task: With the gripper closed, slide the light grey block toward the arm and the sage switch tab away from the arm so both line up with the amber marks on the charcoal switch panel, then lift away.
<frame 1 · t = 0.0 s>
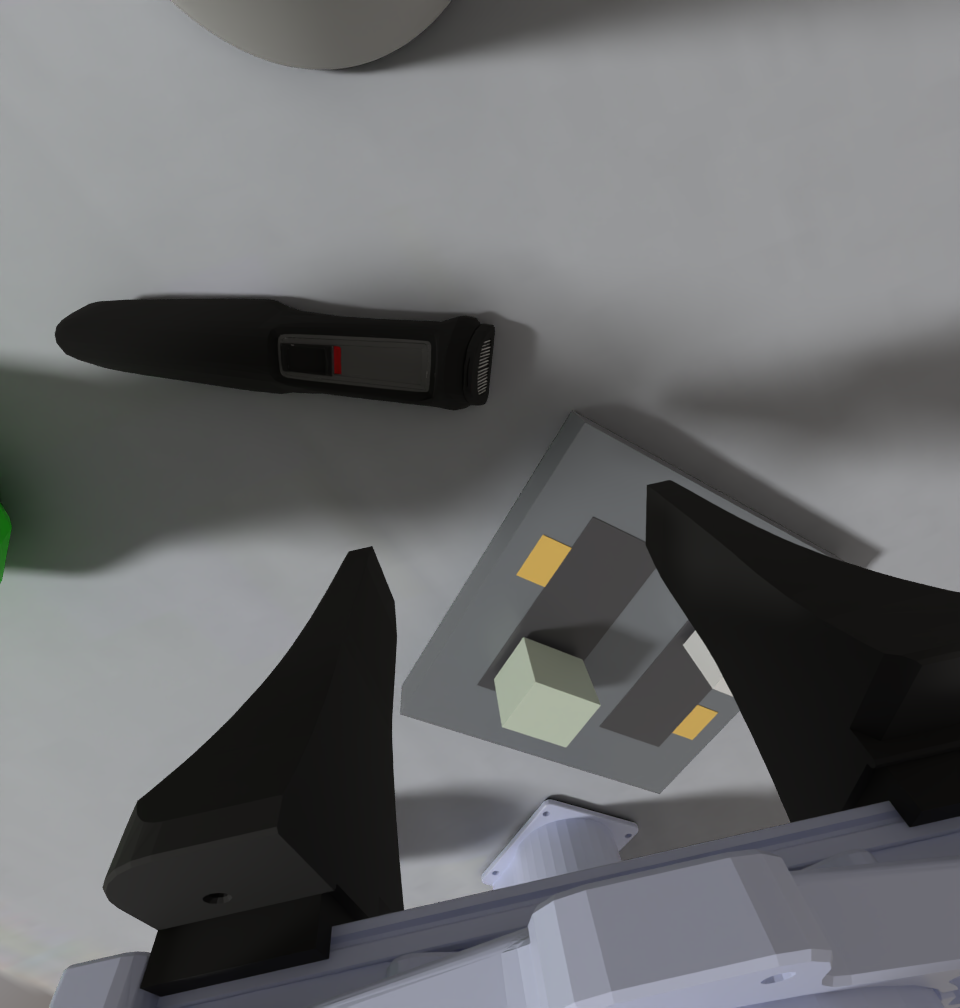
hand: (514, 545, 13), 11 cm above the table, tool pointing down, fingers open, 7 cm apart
light grey block: (742, 655, 25), point 4 cm above the table, slide at 6.0 cm
electric trimmer: (315, 351, 21), on the table
tab sage: (544, 691, 24), point 4 cm above the table, slide at 0.0 cm
switch panel: (616, 622, 28), on the table
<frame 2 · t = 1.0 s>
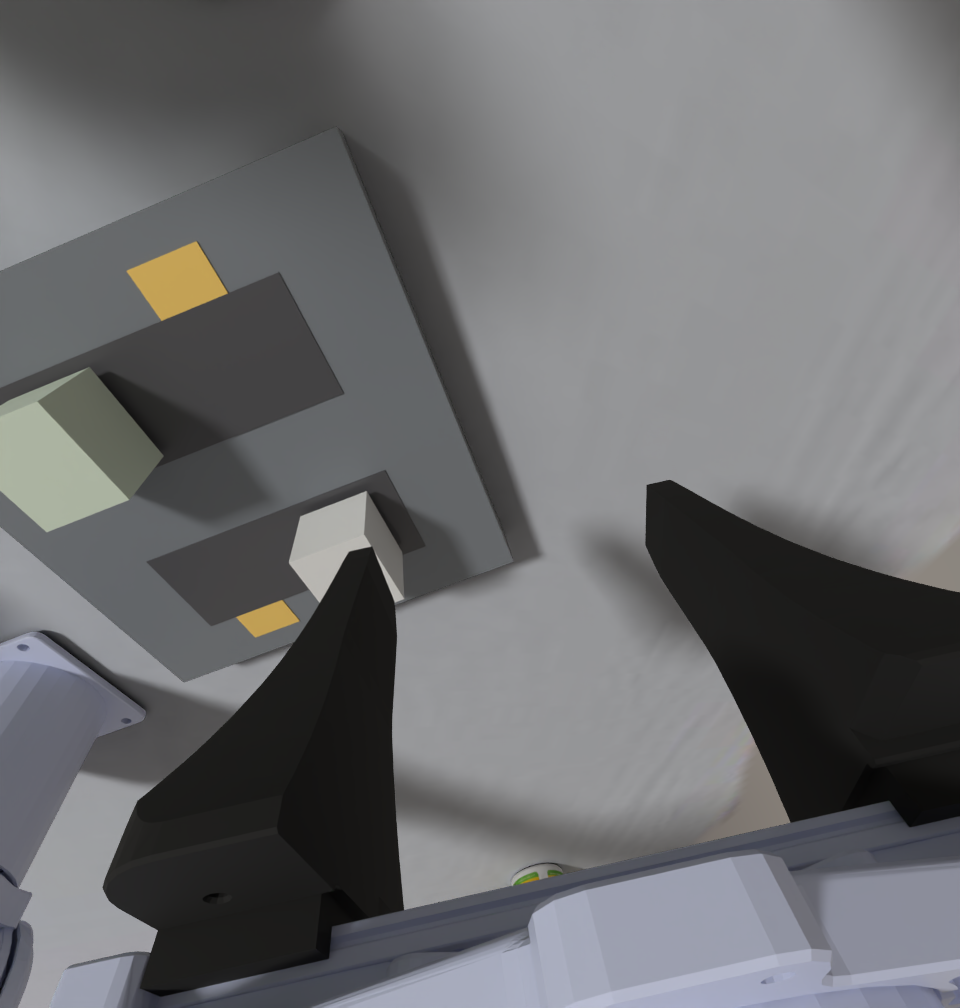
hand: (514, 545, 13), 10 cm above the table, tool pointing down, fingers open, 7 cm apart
supplement bottle: (536, 871, 51), on the table
light grey block: (351, 557, 20), point 4 cm above the table, slide at 6.0 cm
tab sage: (68, 449, 16), point 4 cm above the table, slide at 0.0 cm
switch panel: (249, 459, 22), on the table
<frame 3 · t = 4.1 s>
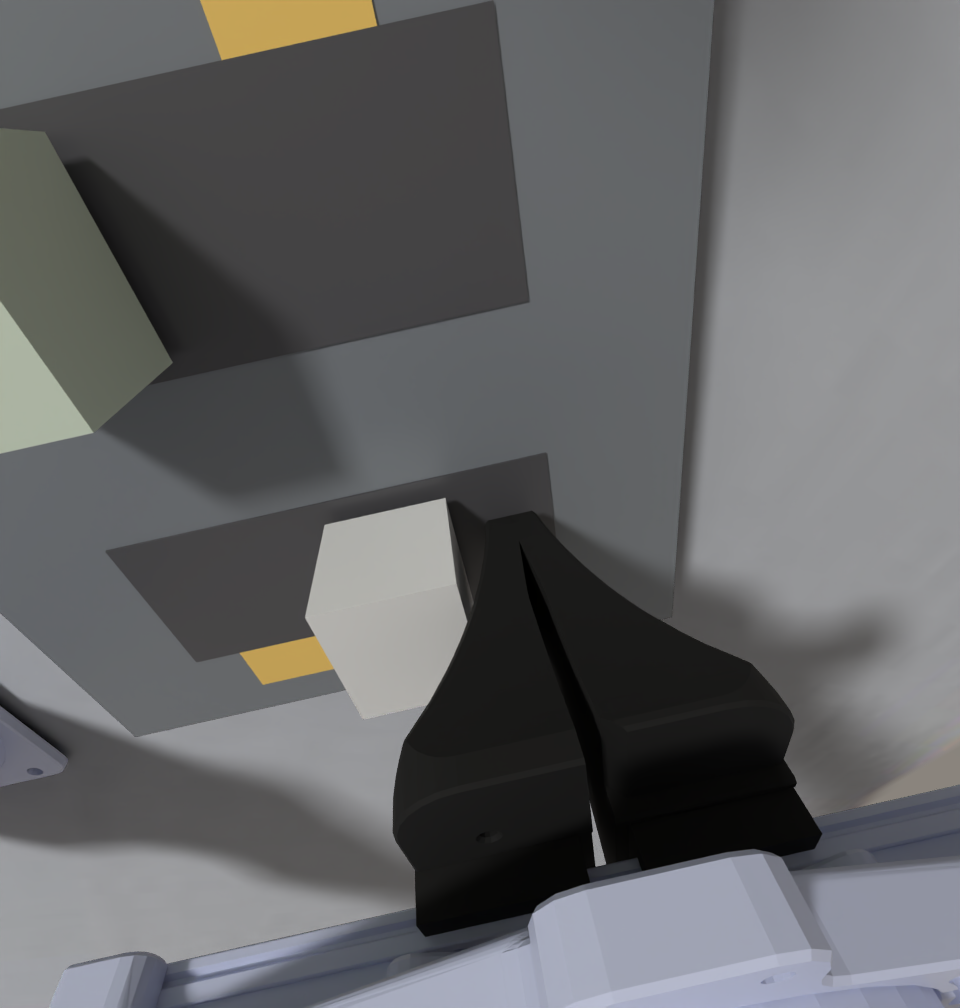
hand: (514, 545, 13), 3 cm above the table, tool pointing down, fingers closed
light grey block: (404, 607, 12), point 4 cm above the table, slide at 4.4 cm, touching gripper
switch panel: (310, 401, 13), on the table
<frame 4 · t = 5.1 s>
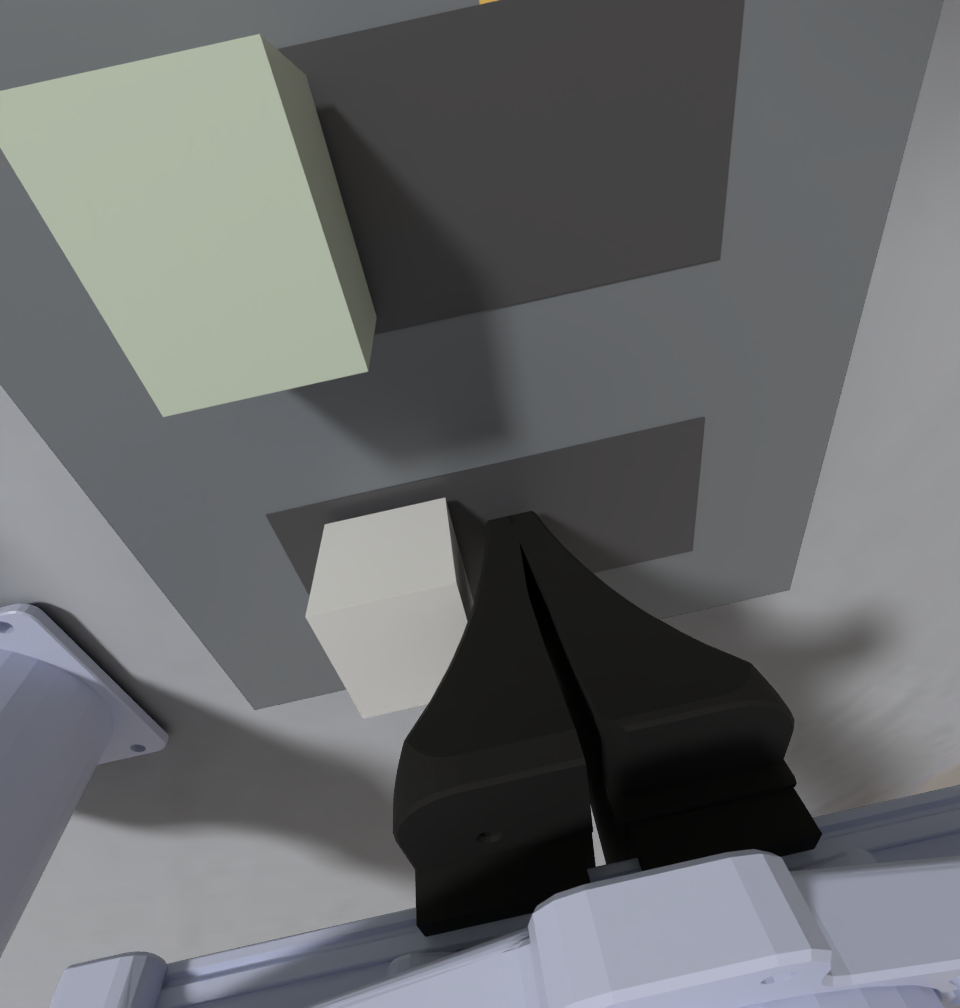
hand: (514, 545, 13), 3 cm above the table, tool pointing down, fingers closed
light grey block: (404, 606, 12), point 4 cm above the table, slide at 0.4 cm, touching gripper
tab sage: (236, 241, 7), point 4 cm above the table, slide at 0.0 cm
switch panel: (462, 367, 13), on the table
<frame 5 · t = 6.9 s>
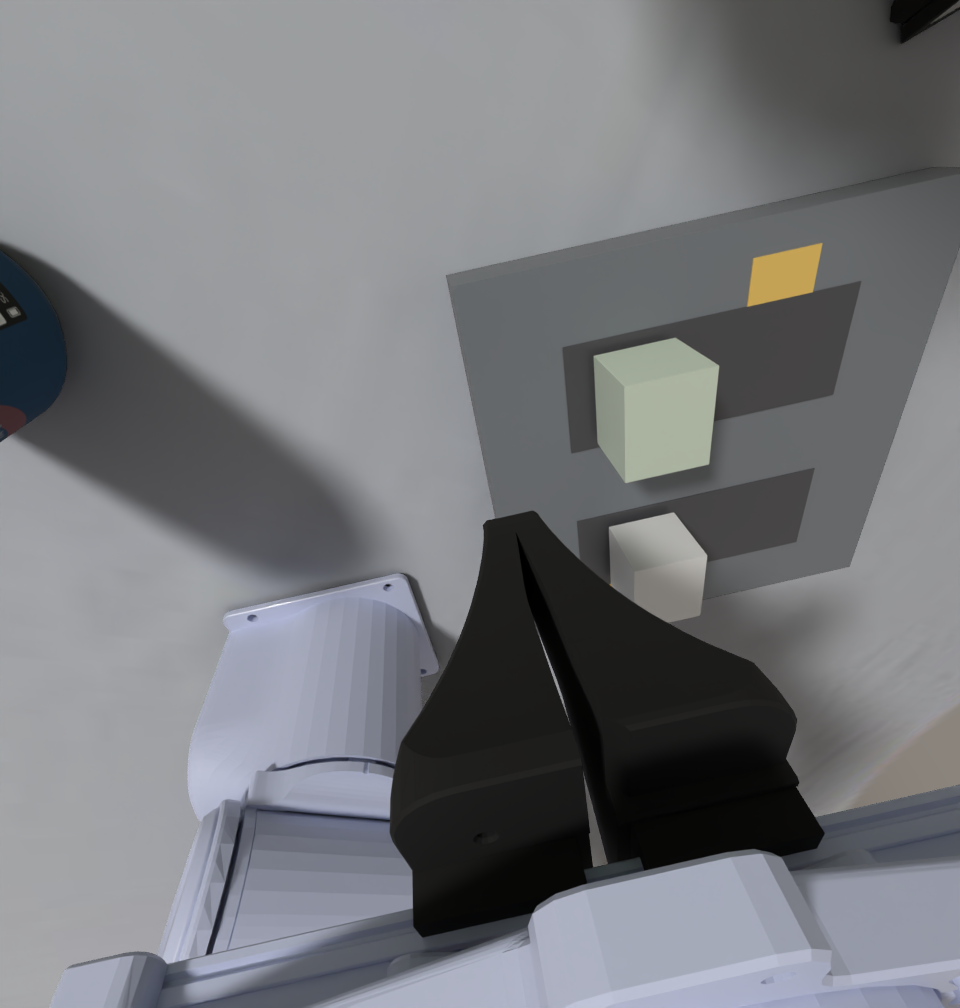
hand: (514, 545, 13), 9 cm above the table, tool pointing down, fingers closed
light grey block: (654, 570, 22), point 4 cm above the table, slide at 0.3 cm
tab sage: (650, 409, 18), point 4 cm above the table, slide at 0.0 cm
switch panel: (677, 439, 23), on the table
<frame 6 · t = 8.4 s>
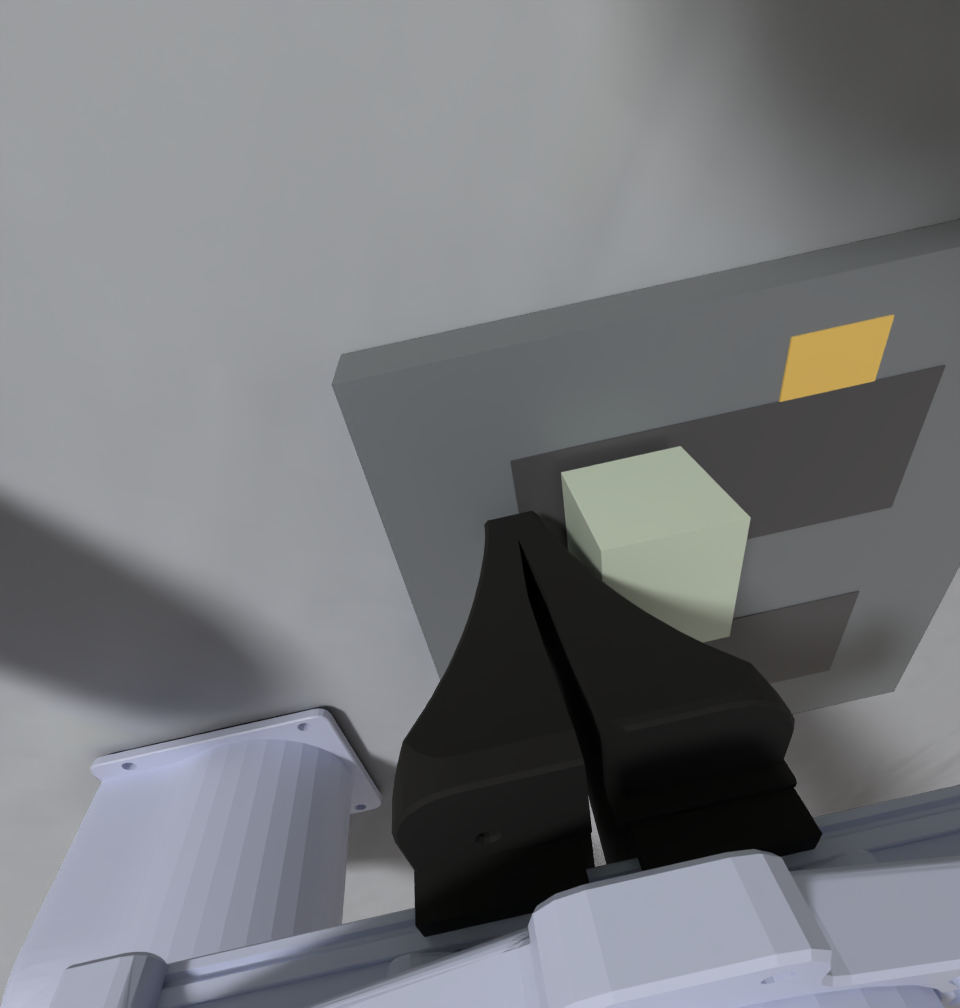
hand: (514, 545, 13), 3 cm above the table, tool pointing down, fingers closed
tab sage: (643, 553, 12), point 4 cm above the table, slide at 0.2 cm, touching gripper
switch panel: (677, 548, 18), on the table
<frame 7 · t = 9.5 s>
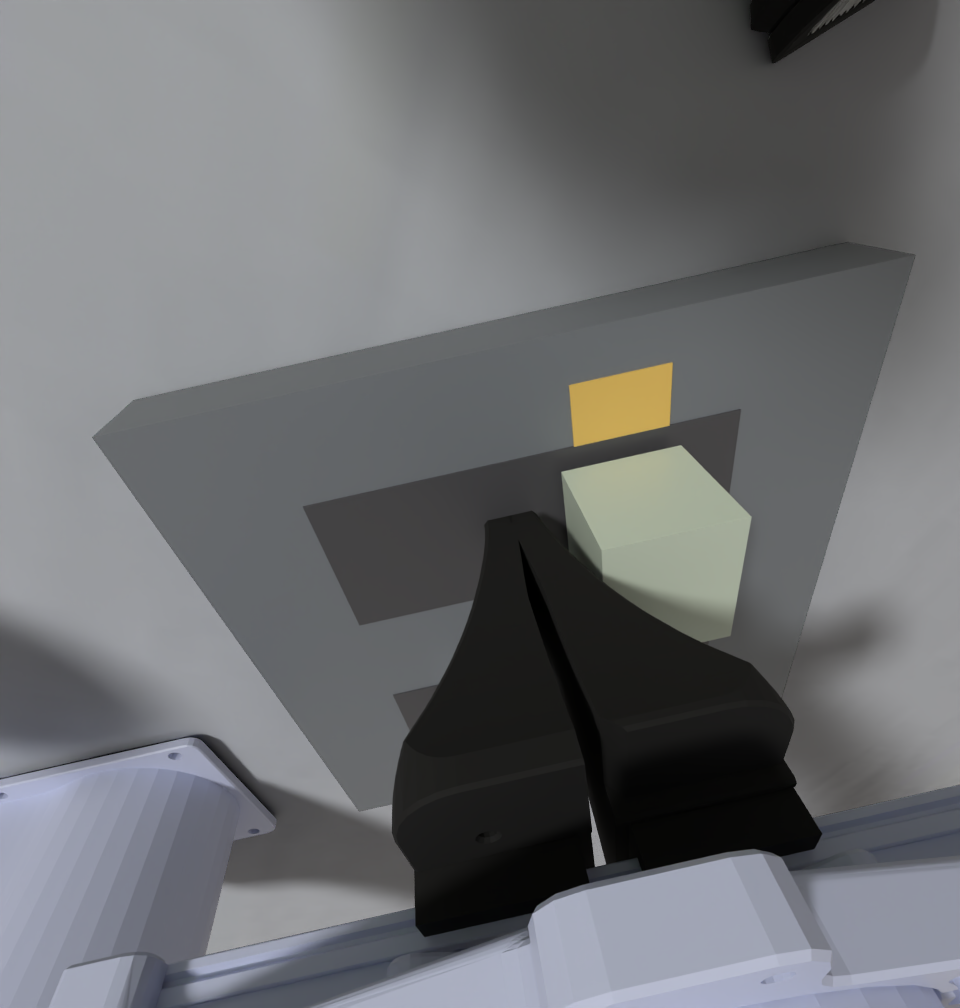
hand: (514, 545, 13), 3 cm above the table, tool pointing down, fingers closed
tab sage: (644, 552, 12), point 4 cm above the table, slide at 5.4 cm, touching gripper
switch panel: (533, 580, 17), on the table
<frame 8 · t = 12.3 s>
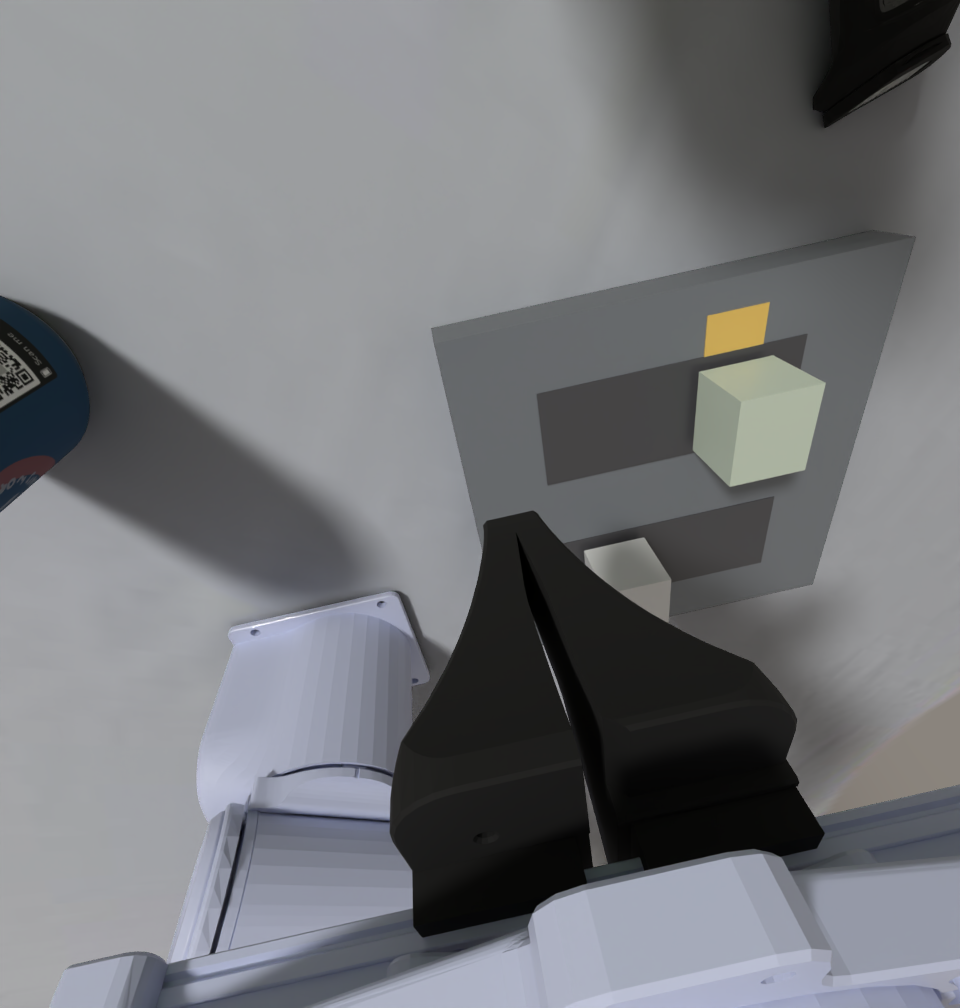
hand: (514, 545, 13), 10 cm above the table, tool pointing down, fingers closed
light grey block: (625, 591, 24), point 4 cm above the table, slide at 0.3 cm
tab sage: (751, 420, 20), point 4 cm above the table, slide at 5.4 cm
soda can: (2, 365, 19), on the table
switch panel: (648, 469, 25), on the table
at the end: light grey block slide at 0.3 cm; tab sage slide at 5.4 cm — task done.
